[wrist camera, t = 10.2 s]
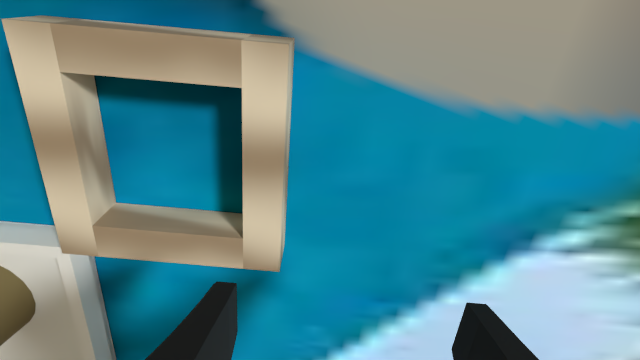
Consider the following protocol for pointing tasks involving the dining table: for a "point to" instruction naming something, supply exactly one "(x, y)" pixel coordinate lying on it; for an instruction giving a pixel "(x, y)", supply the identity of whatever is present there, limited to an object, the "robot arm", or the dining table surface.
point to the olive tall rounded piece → (14, 304)
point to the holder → (90, 147)
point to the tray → (55, 298)
